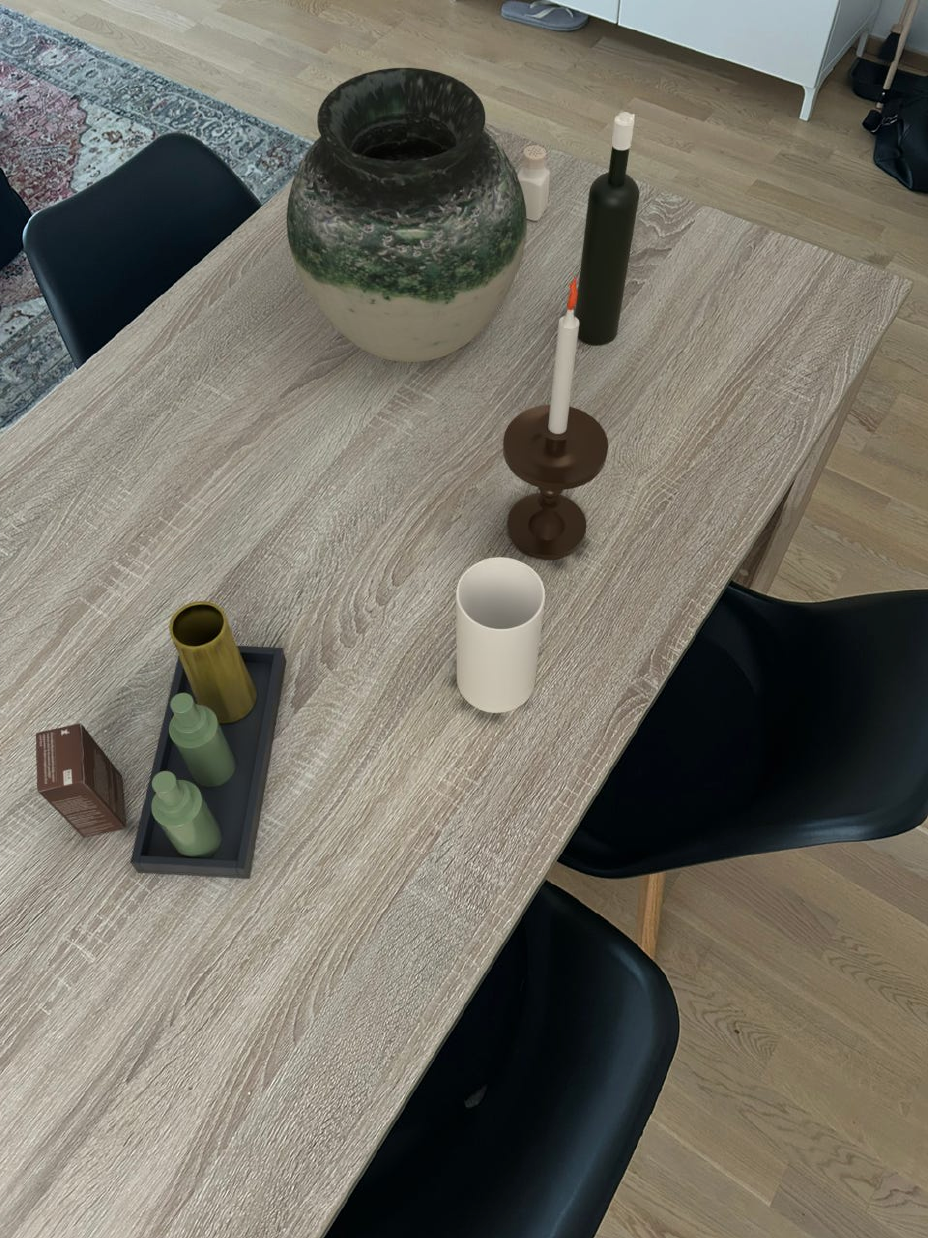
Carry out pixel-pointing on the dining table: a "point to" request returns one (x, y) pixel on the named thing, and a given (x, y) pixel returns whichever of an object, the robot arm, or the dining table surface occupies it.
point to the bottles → (208, 765)
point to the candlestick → (554, 458)
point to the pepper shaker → (534, 181)
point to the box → (79, 780)
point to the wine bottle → (607, 242)
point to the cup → (498, 633)
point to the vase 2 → (406, 215)
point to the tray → (230, 801)
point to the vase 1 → (212, 661)
